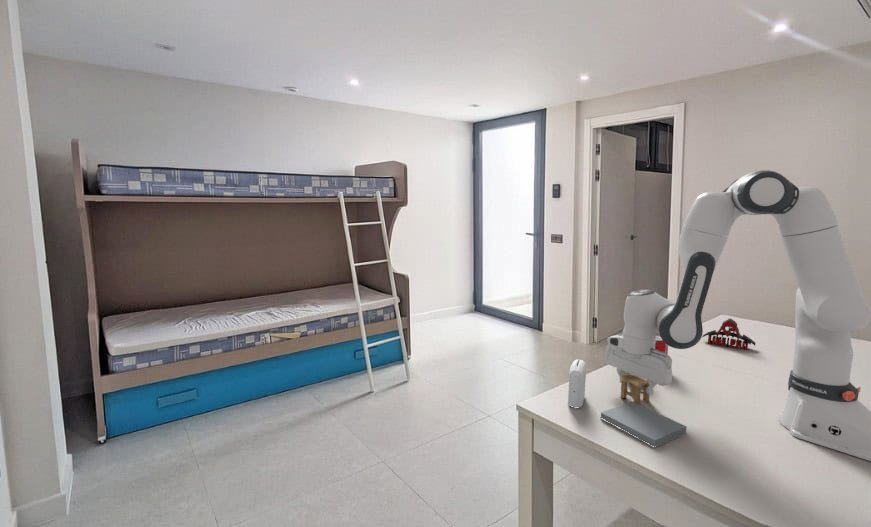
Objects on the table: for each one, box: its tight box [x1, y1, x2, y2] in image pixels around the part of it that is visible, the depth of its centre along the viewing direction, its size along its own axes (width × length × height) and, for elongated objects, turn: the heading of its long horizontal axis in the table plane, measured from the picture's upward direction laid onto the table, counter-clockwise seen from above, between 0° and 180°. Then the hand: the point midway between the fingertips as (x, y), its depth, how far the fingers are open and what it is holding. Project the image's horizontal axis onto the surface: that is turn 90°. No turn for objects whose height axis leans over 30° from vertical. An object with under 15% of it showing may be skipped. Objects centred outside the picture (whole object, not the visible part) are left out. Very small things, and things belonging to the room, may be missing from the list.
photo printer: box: [567, 358, 587, 408], centre depth 129 cm, size 10×4×12 cm, turn 156°
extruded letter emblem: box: [701, 318, 757, 351], centre depth 177 cm, size 18×4×11 cm, turn 52°
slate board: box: [600, 401, 687, 448], centre depth 116 cm, size 16×13×2 cm
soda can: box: [655, 334, 669, 355], centre depth 152 cm, size 7×7×12 cm
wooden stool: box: [620, 373, 650, 405], centre depth 131 cm, size 6×6×7 cm
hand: (635, 388), depth 131 cm, fingers open, 7 cm apart
